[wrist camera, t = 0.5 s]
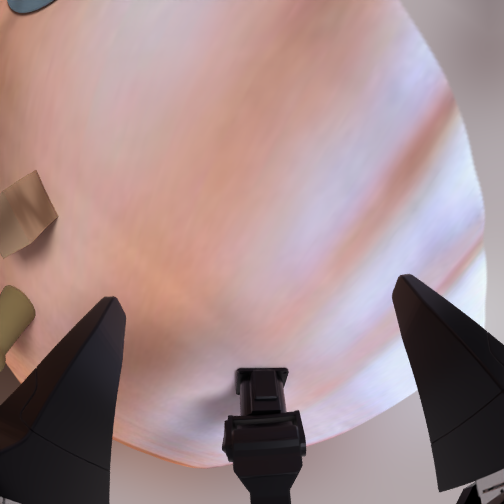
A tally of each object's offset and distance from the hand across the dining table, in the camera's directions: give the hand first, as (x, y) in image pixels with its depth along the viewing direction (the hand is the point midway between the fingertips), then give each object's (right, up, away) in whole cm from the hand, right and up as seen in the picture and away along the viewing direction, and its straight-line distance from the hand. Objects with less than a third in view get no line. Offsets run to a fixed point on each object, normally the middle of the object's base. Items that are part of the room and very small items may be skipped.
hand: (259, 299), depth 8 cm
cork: (-31, -5, +19) cm, 37 cm away
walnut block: (-21, +6, +12) cm, 25 cm away
